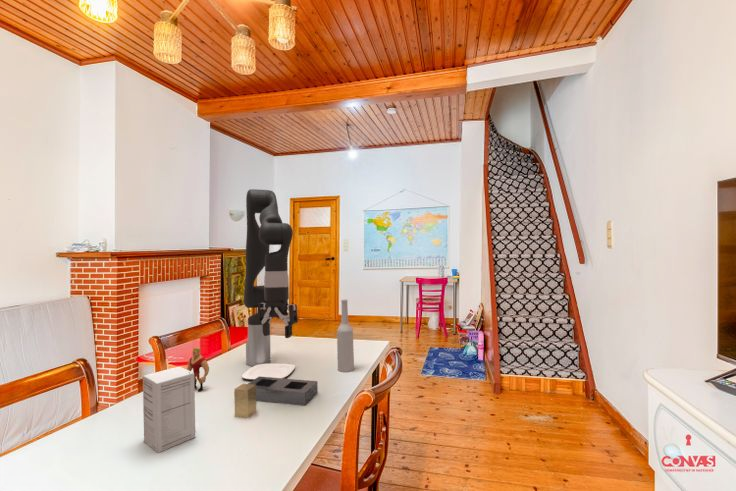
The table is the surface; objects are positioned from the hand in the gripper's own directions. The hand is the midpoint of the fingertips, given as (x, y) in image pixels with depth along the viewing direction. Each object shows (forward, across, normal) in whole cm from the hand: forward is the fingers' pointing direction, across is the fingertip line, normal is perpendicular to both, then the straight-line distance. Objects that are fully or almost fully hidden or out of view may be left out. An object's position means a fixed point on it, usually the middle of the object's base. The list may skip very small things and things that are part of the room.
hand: (277, 336), depth 114 cm
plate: (+21, -21, +20) cm, 36 cm away
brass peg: (+21, -4, -10) cm, 24 cm away
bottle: (+21, +4, +37) cm, 42 cm away
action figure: (+21, -34, -2) cm, 40 cm away
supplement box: (+21, -12, -29) cm, 38 cm away
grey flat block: (+21, -3, +5) cm, 22 cm away
